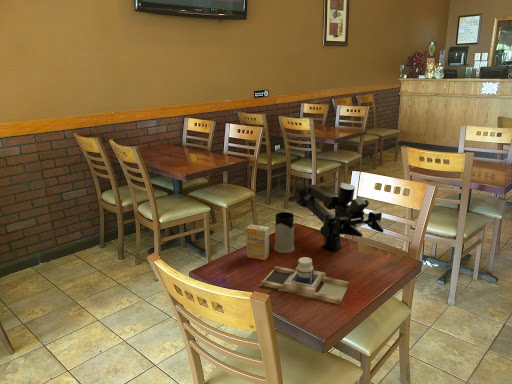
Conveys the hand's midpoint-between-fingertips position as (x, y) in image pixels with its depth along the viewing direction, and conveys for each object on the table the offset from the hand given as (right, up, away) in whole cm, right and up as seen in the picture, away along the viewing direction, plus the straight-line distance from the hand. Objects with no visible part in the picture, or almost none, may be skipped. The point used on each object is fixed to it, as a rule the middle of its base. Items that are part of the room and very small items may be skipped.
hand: (372, 233), depth 141 cm
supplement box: (-41, -12, +20) cm, 47 cm away
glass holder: (-28, -9, +30) cm, 42 cm away
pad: (-15, -19, -6) cm, 25 cm away
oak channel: (-24, -18, -2) cm, 30 cm away
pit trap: (-34, -17, +3) cm, 38 cm away
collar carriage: (-24, -18, -2) cm, 30 cm away
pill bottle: (-24, -18, -2) cm, 31 cm away
